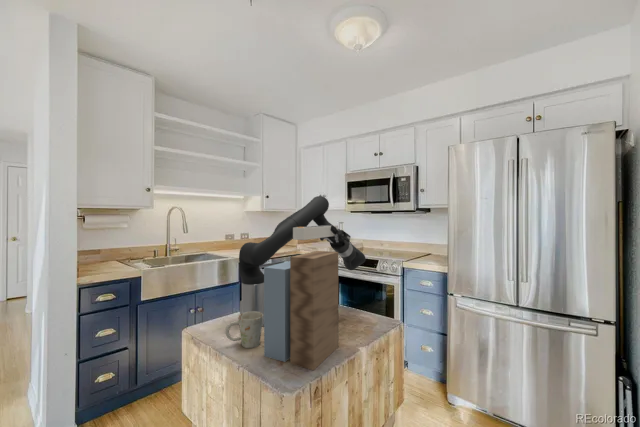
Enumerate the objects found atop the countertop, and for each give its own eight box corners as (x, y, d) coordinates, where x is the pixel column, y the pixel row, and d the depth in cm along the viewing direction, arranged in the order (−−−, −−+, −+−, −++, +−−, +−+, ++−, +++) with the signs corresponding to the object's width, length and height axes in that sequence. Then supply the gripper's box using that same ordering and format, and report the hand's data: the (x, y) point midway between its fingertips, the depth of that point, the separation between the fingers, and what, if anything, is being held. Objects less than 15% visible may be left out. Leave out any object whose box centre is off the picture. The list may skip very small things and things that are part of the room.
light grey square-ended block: (292, 239, 99) (293, 226, 99) (328, 235, 122) (328, 224, 122) (303, 240, 97) (304, 227, 97) (338, 235, 120) (338, 225, 120)
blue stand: (264, 356, 92) (264, 267, 93) (293, 336, 107) (293, 260, 108) (285, 362, 89) (284, 269, 89) (312, 340, 104) (312, 261, 104)
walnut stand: (290, 363, 88) (290, 256, 88) (317, 341, 103) (317, 250, 103) (313, 370, 84) (313, 258, 84) (338, 346, 99) (338, 252, 99)
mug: (264, 348, 98) (264, 318, 98) (224, 353, 95) (224, 322, 95) (261, 338, 106) (261, 310, 106) (225, 342, 103) (225, 313, 103)
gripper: (329, 237, 133) (312, 218, 120) (358, 238, 126) (344, 219, 113) (325, 252, 130) (307, 235, 117) (355, 254, 123) (340, 236, 110)
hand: (326, 227), depth 115 cm, fingers closed on light grey square-ended block, 4 cm apart
